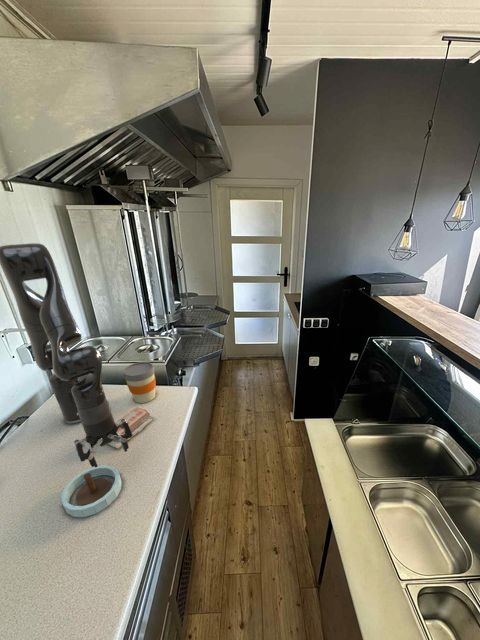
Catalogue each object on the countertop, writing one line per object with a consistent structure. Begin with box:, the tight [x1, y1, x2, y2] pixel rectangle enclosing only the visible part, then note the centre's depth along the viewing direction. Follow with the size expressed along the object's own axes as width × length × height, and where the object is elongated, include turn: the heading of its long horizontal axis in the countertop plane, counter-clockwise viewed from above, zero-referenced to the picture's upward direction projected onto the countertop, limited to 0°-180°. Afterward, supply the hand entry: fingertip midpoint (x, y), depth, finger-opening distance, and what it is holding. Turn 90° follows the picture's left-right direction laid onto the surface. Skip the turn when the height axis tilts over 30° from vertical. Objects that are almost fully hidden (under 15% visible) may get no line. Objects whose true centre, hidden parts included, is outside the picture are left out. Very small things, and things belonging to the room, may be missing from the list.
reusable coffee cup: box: [123, 361, 157, 404], centre depth 128 cm, size 13×13×15 cm
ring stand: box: [75, 473, 112, 506], centre depth 85 cm, size 9×9×8 cm
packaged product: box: [106, 406, 155, 449], centre depth 110 cm, size 18×5×10 cm
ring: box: [60, 465, 122, 518], centre depth 86 cm, size 15×15×3 cm
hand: (110, 457), depth 86 cm, fingers open, 8 cm apart
